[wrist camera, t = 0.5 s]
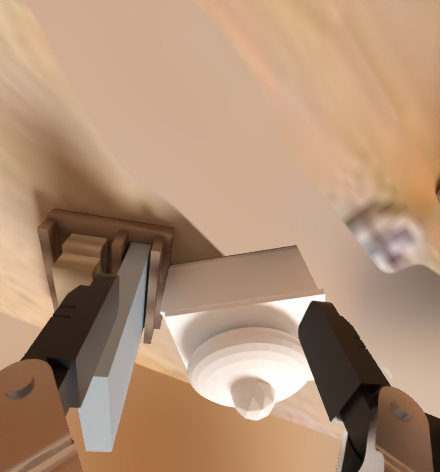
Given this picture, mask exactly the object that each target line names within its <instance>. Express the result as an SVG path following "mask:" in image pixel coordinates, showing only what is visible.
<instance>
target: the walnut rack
mask: <svg viewBox="0 0 440 472" xmlns="http://www.w3.org/2000/svg"><path fill="white" fill-rule="evenodd" d="M37 229H38V234H39V239H40V244H41V248H42V253H43V258H44V263H45V268H46V273H47V278H48V282H49V287H50V292H51V297H52V302H53V307H54V311H56V309H57V308H58V307H59V306H58V301H57V296H56V290H55V285H54V280H53V275H52V269H51V267H52V266H53V265H54V263H55V262H56V261H57V260H58V258H59V257H60V256H61V255H62V253H63V250H62V245H63V244H64V242H65V241H66V240H67V239H68V238H69V237H70V235H71V234H72V233H73V234H80V235H87V236H93V237H100V238H107V239H108V267H109V274H111V275H117V273H118V271H119V269H120V267H121V264H122V262H123V260H124V258H125V256H126V253H127V251H128V249H129V247H130V245H131V242H134V243H140V244H147V245H152V248H151V258H150V270H149V282H148V294H147V307H146V319H145V324H144V328H145V331H144V343H147V344H151V339H152V335H153V330H154V329H160V326H161V320H162V315H161V314H160V309H161V304H162V299H163V294H164V290H165V285H166V280H167V275H168V268H169V260H170V253H171V245H172V238H173V230H174V228H170V227H163V226H157V225H151V224H145V223H138V222H132V221H126V220H120V219H114V218H107V217H101V216H95V215H89V214H82V213H76V212H70V211H64V210H57V209H53V210H52V211H51V212H50V213H48V214H47V220H46V221H45V222H43V223H42V224H41V225H40V226H39V227H38V228H37Z"/></svg>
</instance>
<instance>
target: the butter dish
mask: <svg viewBox="0 0 440 472" xmlns="http://www.w3.org/2000/svg"><path fill="white" fill-rule="evenodd" d="M314 300H315V301H323V302H325V292H324V290H323V289H319V290H318V288H317V286H316V284H315V282H314V280H313V278H312V276H311V274H310V272H309V270H308V268H307V266H306V264H305V262H304V260H303V258H302V256H301V254H300V252H299V250H298V248H297V245H293V246H287V247H281V248H275V249H269V250H261V251H255V252H249V253H242V254H236V255H229V256H225V257H222V258H216V259H209V260H203V261H197V262H190V263H184V264H177V265H171V266H170V268H169V270H168V275H167V280H166V285H165V290H164V294H163V299H162V304H161V309H160V314H161V315H163V317H164V319H165V321H166V324H167V326H168V328H169V330H170V332H171V335H172V337H173V339H174V341H175V344H176V346H177V348H178V350H179V353H180V355H181V357H182V359H183V362H184V364H185V366H186V368H187V373H188V377H189V381H190V383H191V385H192V386H193V388H194V389H195V390H196V391H197V392H198V393H199V394H200V395H202V396H203V397H205V398H206V399H208V400H210V401H213V402H215V403H218V404H221V405H225V406H230V407H235V408H236V410H237V411H238V412H239V413H240V414H241V415H242V416H243V417H244V418H247V419H252V420H259V419H261V418H264V417H266V416H268V415H269V413H270V411H271V410H272V408H273V407H274V403H276V402H279V401H281V400H284V399H285V398H287V397H289V396H291V395H292V394H294V393H295V392H297V391H298V390H299V389H300V388H301V387H302V386H303V385H304V384H305V383H306V381H308V380H314V378H313V375H312V372H311V370H310V367H309V365H308V362H307V359H306V357H305V354H304V352H303V349H302V346H301V344H300V341H299V338H298V327H299V324H300V322H301V320H302V318H303V316H304V314H305V312H306V310H307V308H308V306H309V304H310V302H311V301H314Z"/></svg>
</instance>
